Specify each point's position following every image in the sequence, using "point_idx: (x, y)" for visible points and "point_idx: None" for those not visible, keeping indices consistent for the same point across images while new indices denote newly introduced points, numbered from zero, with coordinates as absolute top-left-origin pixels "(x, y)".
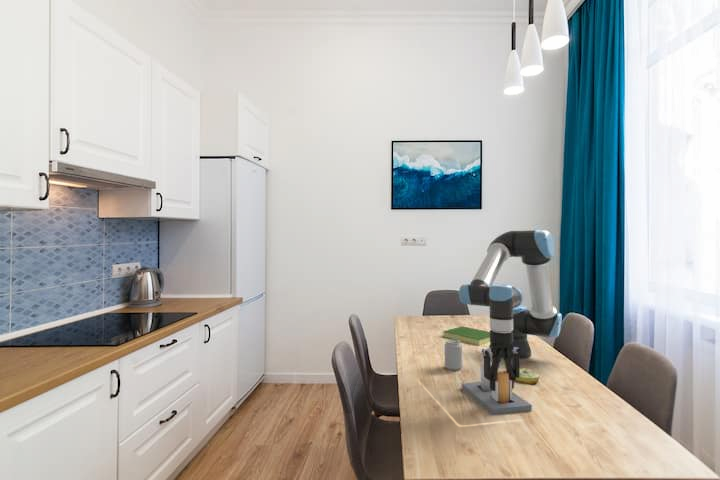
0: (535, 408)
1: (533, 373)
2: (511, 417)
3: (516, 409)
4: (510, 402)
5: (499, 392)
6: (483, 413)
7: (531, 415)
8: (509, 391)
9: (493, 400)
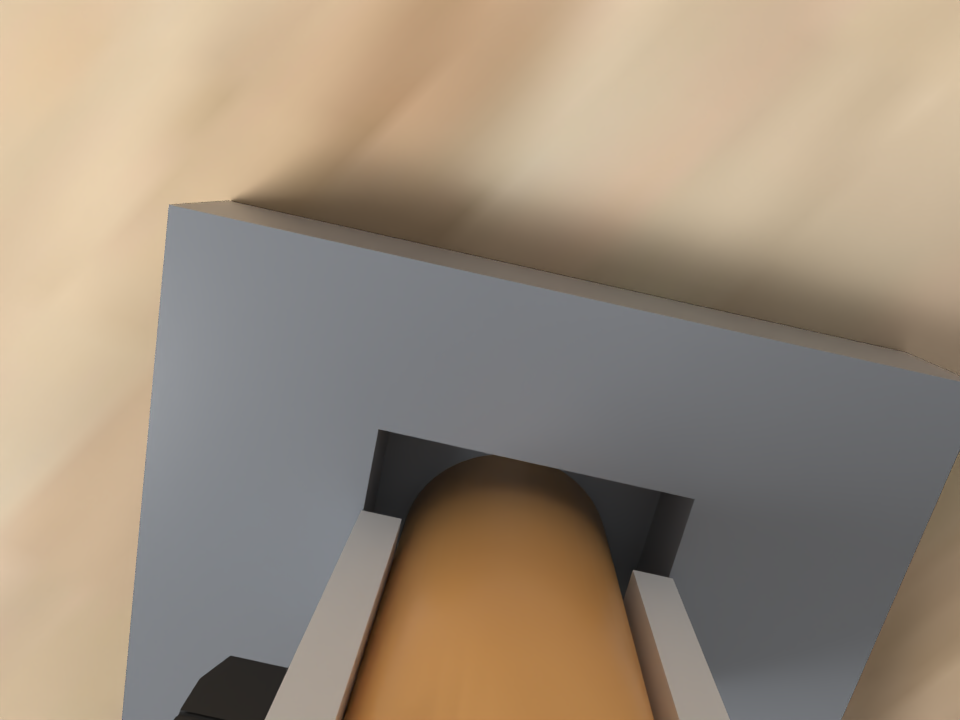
0: (71, 283)
1: None
2: (658, 206)
3: (492, 270)
4: None
5: (640, 674)
6: None
7: (306, 122)
8: (365, 632)
9: None
